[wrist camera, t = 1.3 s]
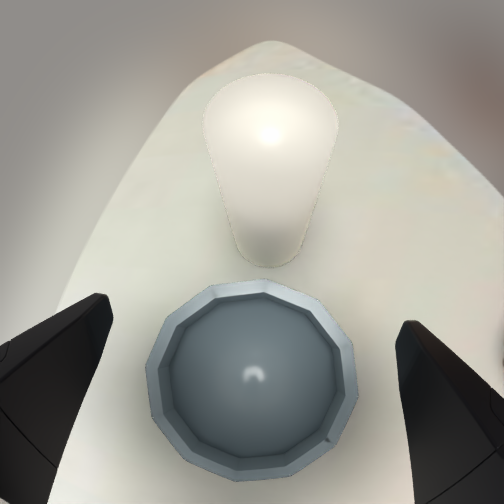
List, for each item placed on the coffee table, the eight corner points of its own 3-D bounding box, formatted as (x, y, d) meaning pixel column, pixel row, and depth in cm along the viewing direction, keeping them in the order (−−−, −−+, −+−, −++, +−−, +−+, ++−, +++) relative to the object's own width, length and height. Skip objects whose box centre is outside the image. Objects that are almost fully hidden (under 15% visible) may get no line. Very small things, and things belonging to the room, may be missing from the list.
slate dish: (298, 484, 18) (303, 503, 15) (138, 416, 20) (120, 425, 17) (369, 328, 21) (385, 326, 18) (206, 262, 23) (197, 250, 20)
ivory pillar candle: (288, 278, 22) (314, 196, 10) (223, 252, 23) (177, 149, 11) (312, 217, 24) (352, 95, 11) (251, 193, 24) (237, 62, 12)
